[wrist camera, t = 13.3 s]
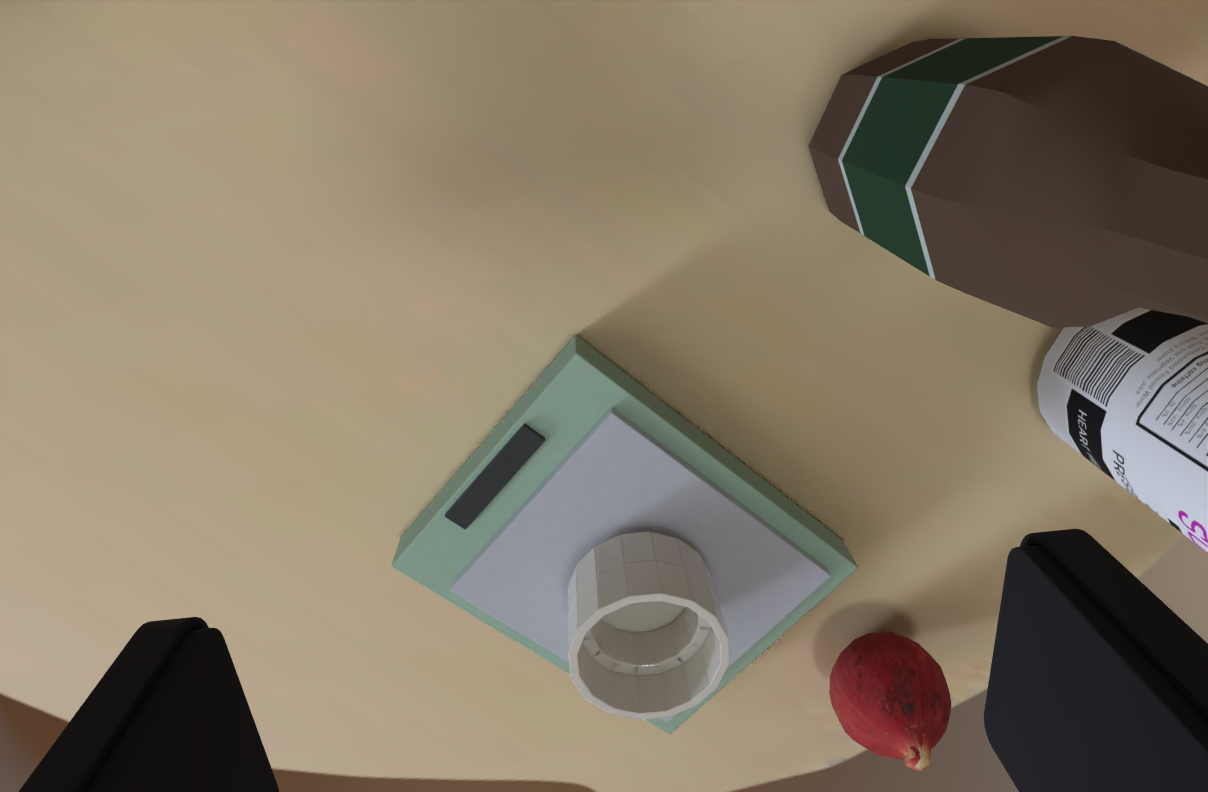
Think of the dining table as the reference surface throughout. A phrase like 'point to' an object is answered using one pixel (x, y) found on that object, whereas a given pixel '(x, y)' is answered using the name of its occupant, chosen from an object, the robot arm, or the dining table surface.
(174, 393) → the dining table surface
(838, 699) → the onion
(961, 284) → the beer bottle
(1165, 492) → the supplement can
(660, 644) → the bowl
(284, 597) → the dining table surface
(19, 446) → the dining table surface
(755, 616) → the scale
